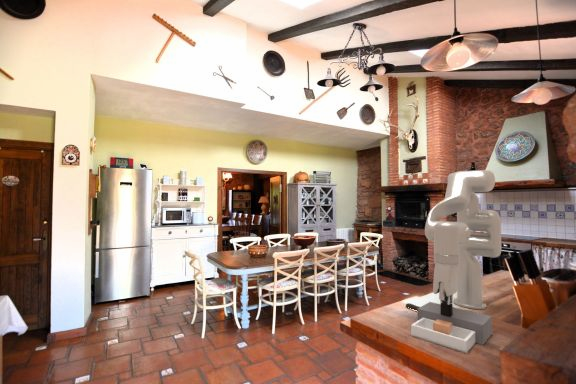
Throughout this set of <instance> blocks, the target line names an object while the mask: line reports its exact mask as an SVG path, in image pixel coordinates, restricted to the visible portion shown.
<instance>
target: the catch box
mask: <svg viewBox="0 0 576 384" xmlns="http://www.w3.org/2000/svg"><path fill="white" fill-rule="evenodd" d="M433 322H434V320H430V319H427V318H421V319H420V320H418V319H417V321H415V322H413V323H412V324H411V325H410V336H411V337H414V338H417V339H420V340H423V341H425V342H429V343H432V344H435V345H438V346H441V347H444V348H448V349H449V350H450V349H451V350H453V351H457V352H460V353H463V354H468V353H469V351H470V350H471V349H472V348H473V347H474V345H475V344H477V343H476V336H475V331H471V330H467V329H464V328H460V327H456V326H453V325H452V336H450V335H447V334H444V333H440V332H437V331H433Z"/></svg>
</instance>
